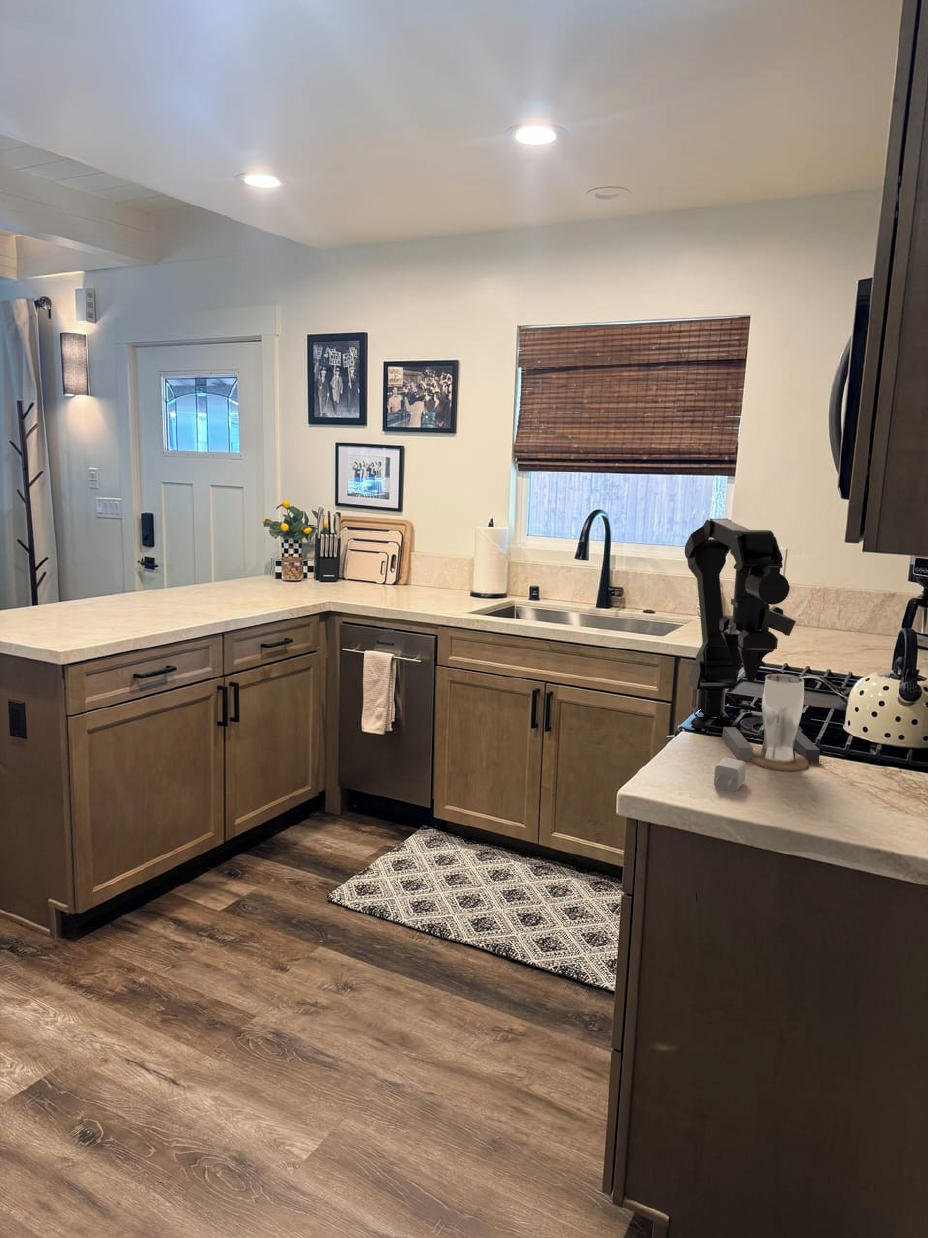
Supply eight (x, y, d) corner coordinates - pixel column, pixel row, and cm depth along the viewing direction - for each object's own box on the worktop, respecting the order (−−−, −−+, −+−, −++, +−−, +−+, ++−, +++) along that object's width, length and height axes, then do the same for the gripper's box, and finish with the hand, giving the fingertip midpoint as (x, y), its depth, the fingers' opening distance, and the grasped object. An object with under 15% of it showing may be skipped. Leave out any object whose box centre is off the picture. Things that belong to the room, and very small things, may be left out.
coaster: (743, 751, 157) (743, 748, 157) (797, 752, 157) (797, 749, 157) (758, 770, 147) (759, 767, 147) (816, 772, 147) (816, 769, 147)
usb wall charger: (744, 783, 141) (746, 761, 141) (733, 797, 136) (735, 774, 135) (720, 779, 144) (722, 756, 143) (709, 792, 138) (710, 769, 137)
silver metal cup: (799, 755, 154) (806, 676, 151) (796, 767, 147) (803, 685, 145) (760, 749, 157) (766, 671, 154) (755, 760, 151) (761, 680, 148)
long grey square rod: (784, 740, 164) (785, 728, 163) (796, 740, 163) (797, 729, 163) (805, 762, 152) (806, 749, 151) (818, 762, 152) (820, 750, 151)
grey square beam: (722, 738, 164) (723, 727, 164) (734, 739, 164) (735, 727, 164) (738, 760, 152) (739, 747, 152) (751, 760, 152) (752, 748, 152)
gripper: (810, 605, 149) (802, 689, 152) (777, 589, 167) (771, 664, 170) (746, 603, 150) (740, 687, 153) (721, 588, 168) (716, 663, 171)
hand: (743, 675), depth 162 cm, fingers open, 9 cm apart
